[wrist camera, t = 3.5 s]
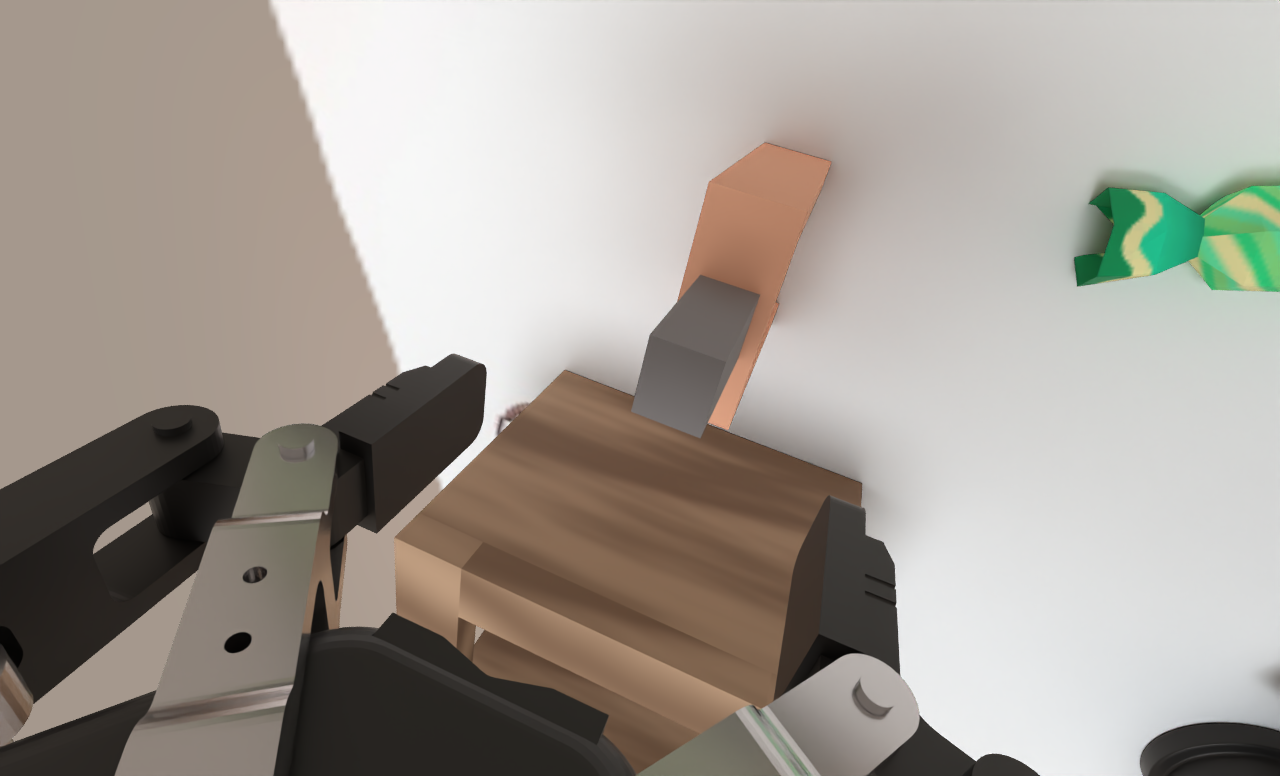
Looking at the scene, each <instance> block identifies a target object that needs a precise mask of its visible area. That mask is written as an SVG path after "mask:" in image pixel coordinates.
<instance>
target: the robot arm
mask: <svg viewBox="0 0 1280 776" xmlns="http://www.w3.org/2000/svg"><path fill="white" fill-rule="evenodd" d="M486 374H487V372H486V367H485V365H483V364H481V363H478V362H476V361H473V360H470V359H468V358H465V357H462V356H460V355H457V354H451V355H449V356H447V357H446V358H444V359H443V360H441V361H440V362H438V363H437V364H436V365H434V366H433V367H428V366H423V367H419V368H416V369H413V370H409V371H406V372H403V373H401V374H400V375H398V376H397V377H395V378H394V379H392V380H391V381H389V382H388V383H387V384H386V386H382V387H380V388H379V389H377V390H375V391H374V392H373V394H372V395H368V396H366V397H365V398H363V399H362V400H360V401H359V402H357V403H356V404H354V405H353V406H351V407H350V408H348V409H346V410H345V411H344V412H342V413H340V414H339V415H337V416H336V417H334V418H333V419H331V420H330V421H329V422H327V423H325V424H324V425H322V426H319V425H314V424H292V425H287V426H283V427H280V428H277V429H275V430H272V431H270V432H268V433H267V434H265V435H264V436H262V437H261V438H256V437H249V436H242V435H235V434H228V433H222V431H221V427H220V423H219V419H218V416H217V415H216V414H215V413H214V412H213V411H211V410H209V409H207V408H204V407H200V406H193V405H178V406H170V407H164V408H160V409H157V410H154V411H151V412H148V413H146V414H144V415H142V416H140V417H138V418H136V419H134V420H132V421H130V422H128V423H126V424H125V425H123V426H121V427H119V428H117V429H115V430H113V431H111V432H109V433H107V434H105V435H104V436H102V437H100V438H98V439H96V440H94V441H92V442H90V443H88V444H86V445H85V446H82V447H81V448H79V449H77V450H75V451H73V452H71V453H69V454H67V455H65V456H63V457H61V458H60V459H58V460H56V461H54V462H52V463H50V464H48V465H46V466H44V467H42V468H40V469H38V470H37V471H35V472H33V473H31V474H29V475H27V476H25V477H23V478H21V479H20V480H18V481H16V482H14V483H12V484H10V485H8V486H6V487H4V488H2V489H0V776H1040V775H1038V774H1037V773H1036V772H1035V771H1034V770H1032V769H1031V768H1029V767H1028V766H1027V765H1025V764H1023V763H1022V762H1020V761H1018V760H1016V759H1014V758H1011V757H1009V756H1005V755H1001V754H988V755H985V756H983V757H981V758H980V759H978V760H977V761H975V760H973V759H972V758H971V757H969V756H968V755H967V754H965V753H964V752H963V751H961V750H960V749H959V748H957V747H956V746H955V745H953V744H952V743H951V742H949V741H948V740H947V739H945V738H944V737H943V736H941V735H940V734H939V733H938V732H936V731H935V730H934V729H933V728H932V727H931V726H929V725H928V724H927V723H926V722H925V721H924V720H923V718H922V717H921V716H920V715H919V709H918V704H917V702H916V699H915V697H914V695H913V693H912V691H911V689H910V688H909V686H908V685H907V683H906V682H905V681H904V680H903V679H902V677H901V676H900V663H899V644H898V624H897V608H896V607H895V605H896V590H895V586H896V584H895V565H894V562H893V561H892V559H891V557H890V555H889V553H888V551H887V549H886V547H885V545H884V543H883V542H882V541H879V540H877V539H874V538H871V537H869V536H866V535H865V521H866V513H865V509H864V508H862V507H859V506H857V505H854V504H851V503H849V502H846V501H843V500H841V499H838V498H835V497H833V496H830V495H828V496H827V497H826V499H825V500H824V502H823V504H822V506H821V508H820V510H819V512H818V514H817V516H816V518H815V520H814V522H813V524H812V526H811V528H810V530H809V532H808V534H807V536H806V538H805V540H804V542H803V544H802V546H801V548H800V551H799V553H798V556H797V559H796V562H795V566H794V570H793V574H792V581H791V587H790V594H789V601H788V607H787V614H786V620H785V627H784V634H783V640H782V647H781V653H780V660H779V667H778V673H777V680H776V686H775V693H774V700H773V702H772V703H770V704H769V705H767V706H765V707H764V708H762V709H759V710H758V709H757V708H756V707H755V706H754V705H748V706H745V707H743V708H741V709H739V710H738V711H736V712H734V713H733V714H731V715H730V716H728V717H726V718H725V719H723V720H722V721H720V722H719V723H717V724H715V725H714V726H712V727H711V728H709V729H708V730H706V731H704V732H703V733H701V734H700V735H698V736H697V737H695V738H693V739H692V740H690V741H689V742H687V743H686V744H684V745H682V746H681V747H679V748H678V749H676V750H675V751H673V752H671V753H670V754H668V755H667V756H665V757H664V758H662V759H660V760H659V761H657V762H656V763H654V764H653V765H651V766H649V767H648V768H646V769H645V770H643V771H641V772H640V773H638V774H636V772H635V770H634V769H633V767H632V766H631V764H630V763H629V762H628V760H627V759H626V757H625V756H624V755H623V754H622V752H621V751H620V750H619V749H618V748H617V747H616V746H615V745H614V743H612V742H611V741H610V740H609V739H608V738H607V737H606V736H605V735H603V733H604V729H605V726H606V723H607V720H608V717H609V715H608V714H606V713H603V712H601V711H599V710H597V709H595V708H593V707H591V706H589V705H587V704H584V703H582V702H580V701H578V700H576V699H574V698H572V697H570V696H568V695H566V694H563V693H561V692H559V691H557V690H555V689H553V688H548V687H542V686H537V685H532V684H526V683H521V682H516V681H510V680H505V679H500V678H495V677H491V676H489V675H487V674H485V673H484V672H483V671H481V670H480V669H479V668H478V667H477V666H476V665H475V664H474V663H472V662H471V661H470V660H469V659H468V658H467V657H466V656H465V655H464V654H462V653H461V652H460V651H459V650H458V649H457V648H456V647H455V646H453V645H452V644H451V643H450V642H449V641H448V640H447V639H446V638H444V637H443V636H441V635H439V634H437V633H435V632H433V631H431V630H429V629H427V628H425V627H422V626H420V625H418V624H416V623H414V622H412V621H410V620H408V619H406V618H403V617H401V616H399V615H397V614H395V613H392V614H391V615H390V616H389V618H388V619H387V620H386V621H385V622H384V623H383V624H382V626H381V627H380V628H372V627H343V628H339V619H340V608H341V598H342V588H343V579H344V570H345V560H346V551H347V533H348V532H350V531H351V530H352V529H353V528H354V527H355V526H356V525H359V526H361V527H363V528H366V529H368V530H370V531H372V532H374V533H378V532H379V531H380V530H381V529H382V528H383V527H384V526H385V525H386V524H387V523H388V522H389V521H390V520H391V519H393V518H394V517H395V516H396V515H397V514H398V513H399V512H400V511H401V510H402V509H403V508H404V507H405V506H406V505H407V504H408V503H409V502H410V501H412V500H413V499H414V498H415V497H416V496H417V495H418V494H419V493H420V492H421V491H422V490H423V489H424V488H425V487H426V486H427V485H428V484H430V483H431V482H432V481H433V480H434V479H435V478H436V477H437V476H438V475H439V474H440V473H441V472H442V471H443V470H444V469H445V468H446V467H447V466H449V465H450V464H451V463H452V462H453V461H454V460H455V459H456V458H457V457H458V456H459V455H460V454H461V453H462V452H463V451H464V450H465V449H467V448H468V447H469V446H470V445H471V444H472V443H473V441H474V440H475V439H476V437H477V435H478V434H479V431H480V429H481V426H482V423H483V417H484V403H485V389H486ZM148 501H149V504H150V507H151V510H152V513H153V514H152V515H151V516H149V517H148V518H146V519H145V520H143V521H142V522H140V523H139V524H137V525H136V526H134V527H133V528H131V529H130V530H128V531H127V532H126V533H124V534H123V535H121V536H120V537H118V538H117V539H115V540H114V541H112V542H111V543H109V544H108V545H107V546H105V547H103V548H102V549H100V550H99V551H98V552H96V553H94V554H93V548H94V545H95V543H96V541H97V539H98V537H100V535H101V534H102V533H103V532H104V531H105V530H106V529H107V528H109V527H110V526H112V525H113V524H115V523H116V522H118V521H119V520H120V519H122V518H124V517H125V516H127V515H128V514H130V513H131V512H133V511H135V510H136V509H138V508H139V507H141V506H142V505H144V504H145V503H147V502H148ZM197 570H198V572H197V575H196V578H195V581H194V583H193V586H192V589H191V593H190V595H189V598H188V601H187V604H186V607H185V610H184V613H183V615H182V618H181V621H180V624H179V627H178V630H177V633H176V636H175V639H174V641H173V644H172V647H171V650H170V653H169V656H168V659H167V662H166V665H165V668H164V670H163V673H162V677H161V679H160V682H159V685H158V688H157V690H156V691H153V692H150V693H148V694H145V695H142V696H139V697H136V698H134V699H131V700H128V701H125V702H123V703H120V704H117V705H115V706H112V707H109V708H106V709H103V710H101V711H98V712H95V713H92V714H90V715H87V716H84V717H81V718H79V719H76V720H73V721H70V722H68V723H65V724H62V725H59V726H57V727H54V728H51V729H49V730H46V731H43V732H40V733H37V734H35V735H32V736H29V737H26V738H24V739H21V740H18V741H15V742H14V741H13V739H12V738H13V737H14V736H15V735H16V734H17V733H18V732H19V730H20V729H21V728H22V727H23V725H24V724H25V722H26V721H27V719H28V717H29V715H30V713H31V710H32V707H33V704H34V703H35V702H37V701H38V700H39V699H40V698H41V697H43V696H44V695H45V694H46V693H48V692H49V691H50V690H51V689H52V688H54V687H55V686H56V685H57V684H59V683H60V682H61V681H62V680H63V679H65V678H66V677H67V676H69V675H70V674H71V673H72V672H73V671H75V670H76V669H77V668H78V667H79V666H81V665H82V664H83V663H84V662H86V661H87V660H88V659H89V658H91V657H92V656H93V655H94V654H95V653H97V652H98V651H99V650H100V649H102V648H103V647H104V646H105V645H106V644H108V643H109V642H110V641H111V640H113V639H114V638H115V637H116V636H118V635H119V634H120V633H121V632H122V631H124V630H125V629H126V628H127V627H129V626H130V625H131V624H132V623H134V622H135V621H136V620H137V619H138V618H140V617H141V616H142V615H143V614H145V613H146V612H147V611H148V610H149V609H151V608H152V607H153V606H154V605H155V604H157V603H158V602H159V601H160V600H161V599H163V598H164V597H165V596H166V595H168V594H169V593H170V592H172V591H173V590H174V589H175V588H176V587H178V586H179V585H180V584H181V583H182V582H184V581H185V580H186V579H187V578H189V577H190V576H191V575H192V574H193V573H195V572H196V571H197Z"/></svg>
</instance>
